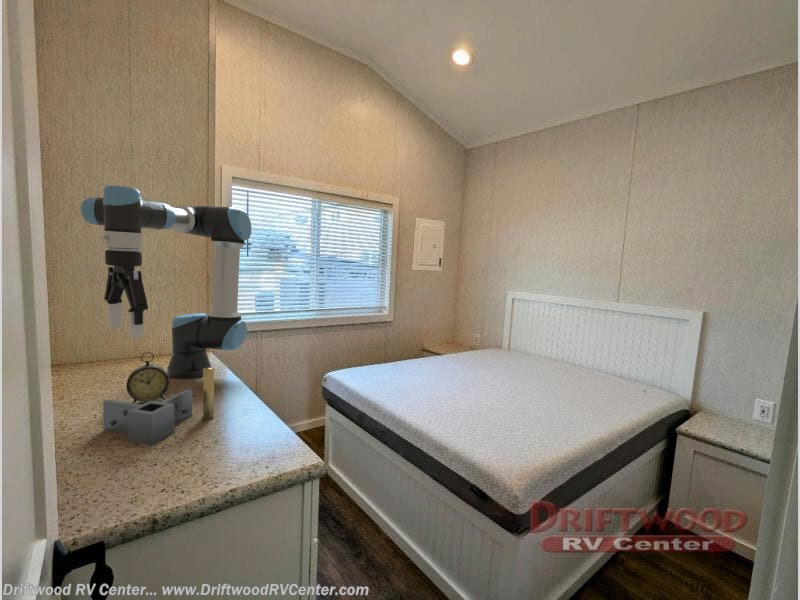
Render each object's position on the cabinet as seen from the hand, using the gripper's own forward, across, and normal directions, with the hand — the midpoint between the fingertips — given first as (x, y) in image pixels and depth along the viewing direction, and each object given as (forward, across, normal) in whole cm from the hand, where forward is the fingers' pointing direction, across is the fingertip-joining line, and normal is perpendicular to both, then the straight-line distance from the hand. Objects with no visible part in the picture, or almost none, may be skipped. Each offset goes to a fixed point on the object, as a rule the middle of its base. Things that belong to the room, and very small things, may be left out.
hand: (125, 332), depth 98 cm
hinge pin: (+27, +8, +18) cm, 33 cm away
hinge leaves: (+27, +1, +5) cm, 27 cm away
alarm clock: (+27, -16, +11) cm, 33 cm away
